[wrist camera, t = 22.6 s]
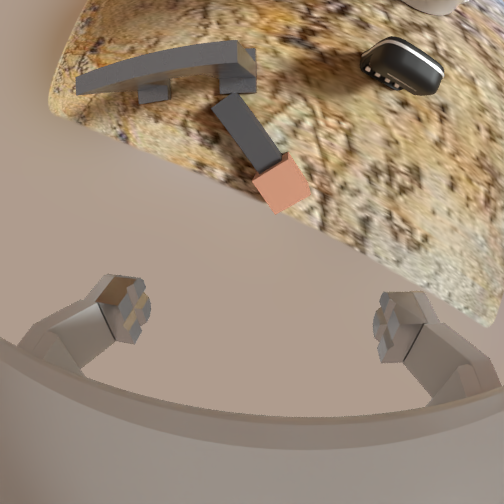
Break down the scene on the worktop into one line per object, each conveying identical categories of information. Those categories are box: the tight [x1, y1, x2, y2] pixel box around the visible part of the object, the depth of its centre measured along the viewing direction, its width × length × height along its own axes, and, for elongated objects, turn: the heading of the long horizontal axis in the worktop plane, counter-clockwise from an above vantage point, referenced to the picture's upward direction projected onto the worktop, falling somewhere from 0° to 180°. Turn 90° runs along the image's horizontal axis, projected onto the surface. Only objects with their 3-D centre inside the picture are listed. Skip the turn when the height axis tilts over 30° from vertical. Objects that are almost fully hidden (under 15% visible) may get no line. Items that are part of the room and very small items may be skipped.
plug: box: [211, 93, 311, 215], centre depth 32 cm, size 15×5×5 cm, turn 35°
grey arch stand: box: [76, 40, 257, 104], centre depth 24 cm, size 6×16×14 cm, turn 91°
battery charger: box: [360, 36, 444, 96], centre depth 21 cm, size 7×4×11 cm, turn 71°
